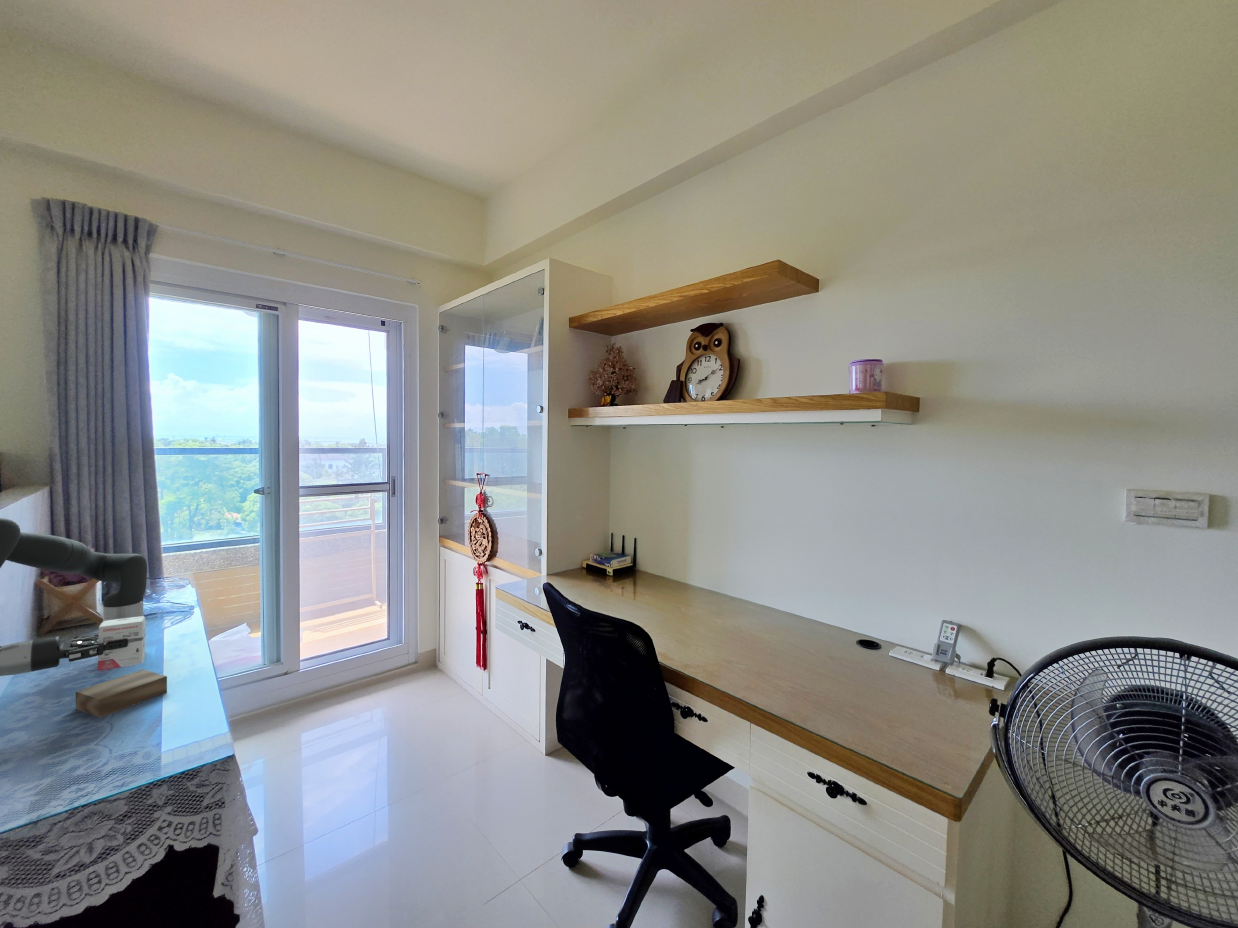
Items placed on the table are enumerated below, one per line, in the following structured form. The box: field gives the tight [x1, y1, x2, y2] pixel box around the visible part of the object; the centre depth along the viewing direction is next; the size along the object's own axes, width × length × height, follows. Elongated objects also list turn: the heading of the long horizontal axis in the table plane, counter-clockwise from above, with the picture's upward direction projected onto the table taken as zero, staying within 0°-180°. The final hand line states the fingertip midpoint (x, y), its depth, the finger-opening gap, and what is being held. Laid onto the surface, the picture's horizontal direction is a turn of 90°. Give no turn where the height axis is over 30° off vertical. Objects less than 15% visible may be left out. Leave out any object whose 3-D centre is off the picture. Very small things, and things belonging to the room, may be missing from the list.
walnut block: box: [75, 669, 168, 719], centre depth 133 cm, size 11×14×5 cm
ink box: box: [97, 616, 146, 672], centre depth 132 cm, size 9×5×12 cm, turn 127°
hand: (127, 639), depth 133 cm, fingers closed on ink box, 5 cm apart
